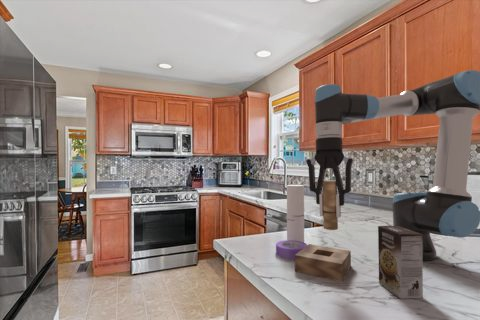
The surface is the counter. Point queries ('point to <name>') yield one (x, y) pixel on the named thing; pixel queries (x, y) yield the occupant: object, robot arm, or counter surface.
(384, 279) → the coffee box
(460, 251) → the counter surface
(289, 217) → the cylindrical container
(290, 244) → the masking tape
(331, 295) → the counter surface
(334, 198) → the peg
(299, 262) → the seat block
